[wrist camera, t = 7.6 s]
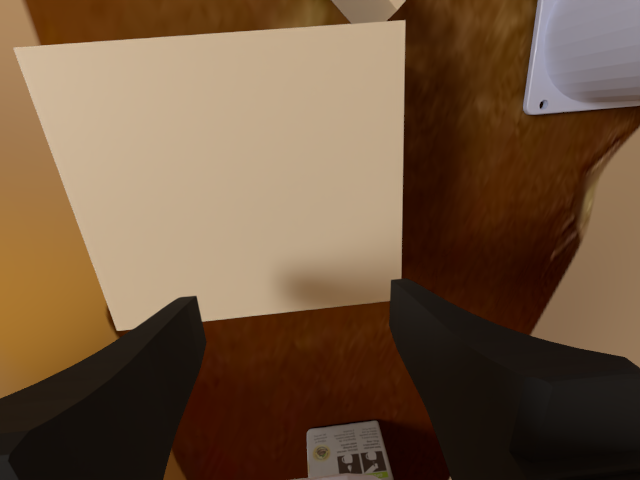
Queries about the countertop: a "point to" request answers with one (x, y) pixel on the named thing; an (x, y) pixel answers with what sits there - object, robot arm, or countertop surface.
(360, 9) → the flap
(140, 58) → the carton
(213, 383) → the countertop surface
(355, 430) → the coffee box
